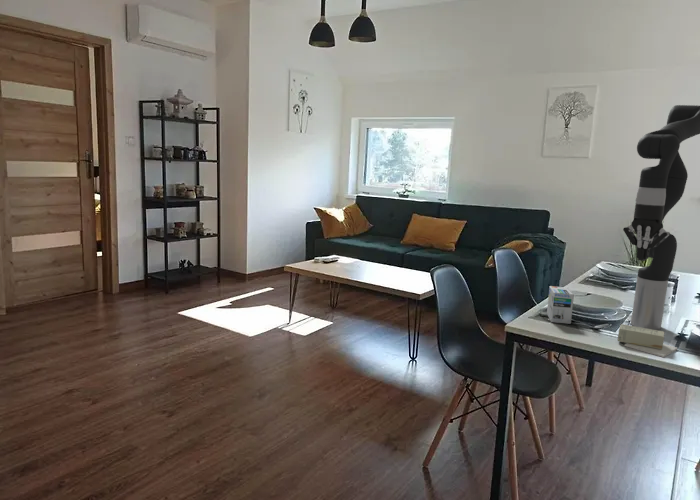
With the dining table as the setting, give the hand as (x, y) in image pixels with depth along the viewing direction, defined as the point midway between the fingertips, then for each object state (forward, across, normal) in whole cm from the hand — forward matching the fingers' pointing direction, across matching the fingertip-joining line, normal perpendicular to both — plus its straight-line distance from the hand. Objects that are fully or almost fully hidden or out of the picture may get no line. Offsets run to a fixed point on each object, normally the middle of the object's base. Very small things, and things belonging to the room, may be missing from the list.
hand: (641, 260), depth 158 cm
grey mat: (+27, -5, -2) cm, 27 cm away
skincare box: (+24, +4, 0) cm, 24 cm away
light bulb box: (+27, +27, -5) cm, 38 cm away
